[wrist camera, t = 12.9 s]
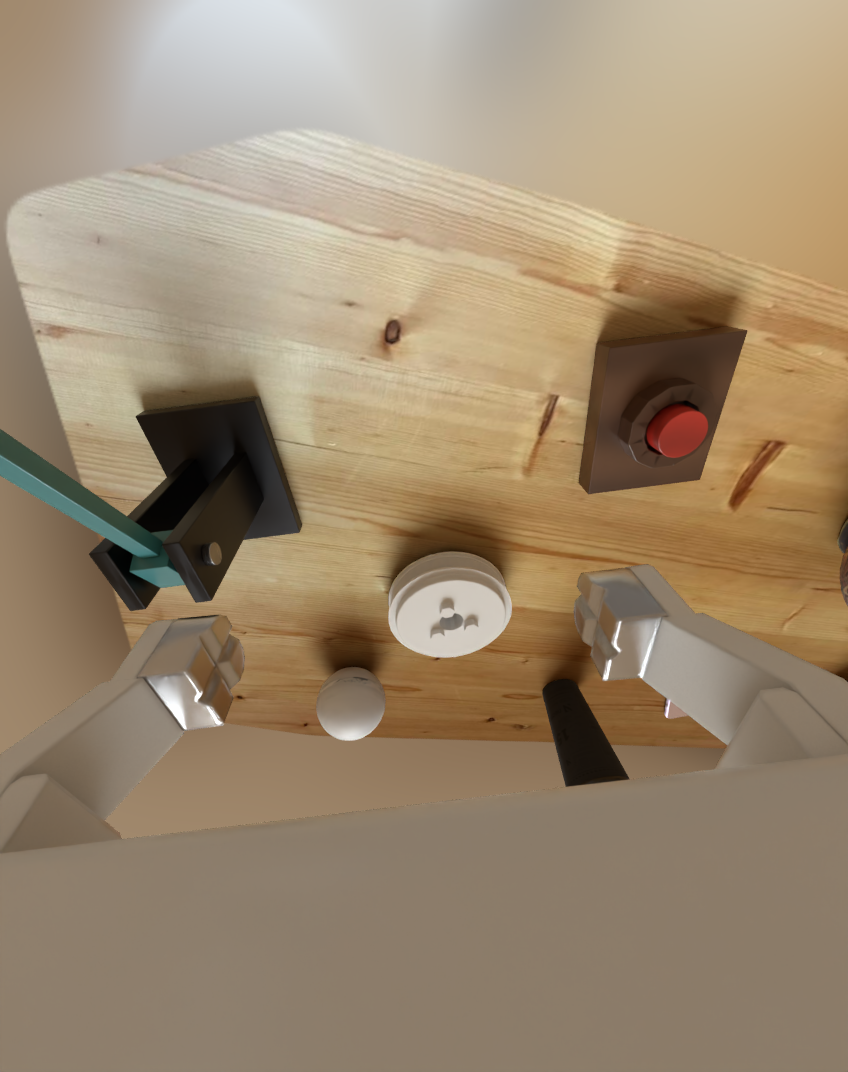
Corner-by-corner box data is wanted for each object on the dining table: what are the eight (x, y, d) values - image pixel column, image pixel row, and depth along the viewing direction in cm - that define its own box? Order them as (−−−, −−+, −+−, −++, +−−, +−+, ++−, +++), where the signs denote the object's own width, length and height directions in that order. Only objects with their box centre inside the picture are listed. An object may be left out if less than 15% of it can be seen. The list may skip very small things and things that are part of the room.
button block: (596, 342, 31) (621, 352, 27) (726, 326, 31) (767, 334, 27) (578, 483, 37) (596, 504, 34) (684, 469, 37) (713, 489, 34)
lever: (-219, 335, 12) (-274, 394, 11) (-52, 314, 12) (-91, 370, 11) (146, 556, 26) (138, 591, 25) (221, 546, 26) (217, 580, 25)
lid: (378, 625, 46) (377, 661, 42) (402, 536, 39) (404, 568, 35) (481, 638, 49) (490, 672, 44) (521, 556, 42) (535, 588, 38)
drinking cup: (597, 675, 55) (686, 854, 38) (572, 707, 59) (643, 882, 42) (545, 669, 53) (616, 853, 37) (524, 703, 57) (578, 882, 41)
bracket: (143, 410, 31) (1, 497, 20) (259, 395, 31) (184, 474, 20) (207, 537, 38) (129, 656, 26) (302, 525, 38) (265, 638, 26)
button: (651, 406, 30) (664, 414, 29) (699, 400, 30) (715, 407, 29) (641, 451, 32) (653, 460, 31) (686, 446, 32) (700, 454, 31)
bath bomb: (389, 655, 49) (390, 716, 43) (381, 694, 54) (380, 755, 47) (323, 650, 48) (312, 713, 41) (320, 691, 52) (310, 753, 46)
